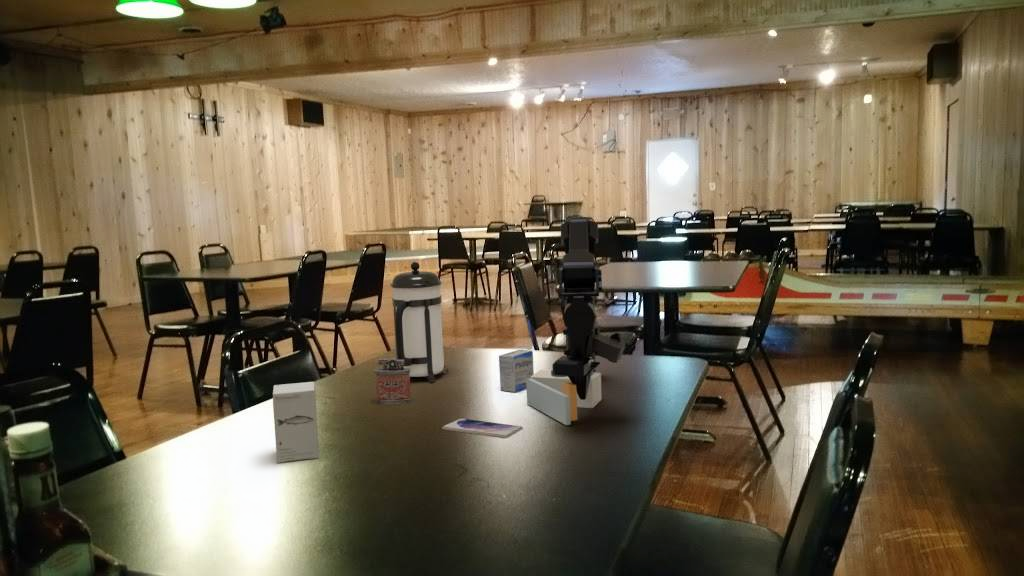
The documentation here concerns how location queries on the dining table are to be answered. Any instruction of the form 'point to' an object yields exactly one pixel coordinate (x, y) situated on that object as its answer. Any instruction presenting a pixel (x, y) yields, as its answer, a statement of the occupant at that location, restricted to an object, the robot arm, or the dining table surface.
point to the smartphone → (482, 428)
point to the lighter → (393, 382)
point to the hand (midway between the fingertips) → (583, 399)
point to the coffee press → (418, 322)
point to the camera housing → (557, 380)
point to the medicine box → (515, 370)
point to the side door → (553, 400)
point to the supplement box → (295, 421)
